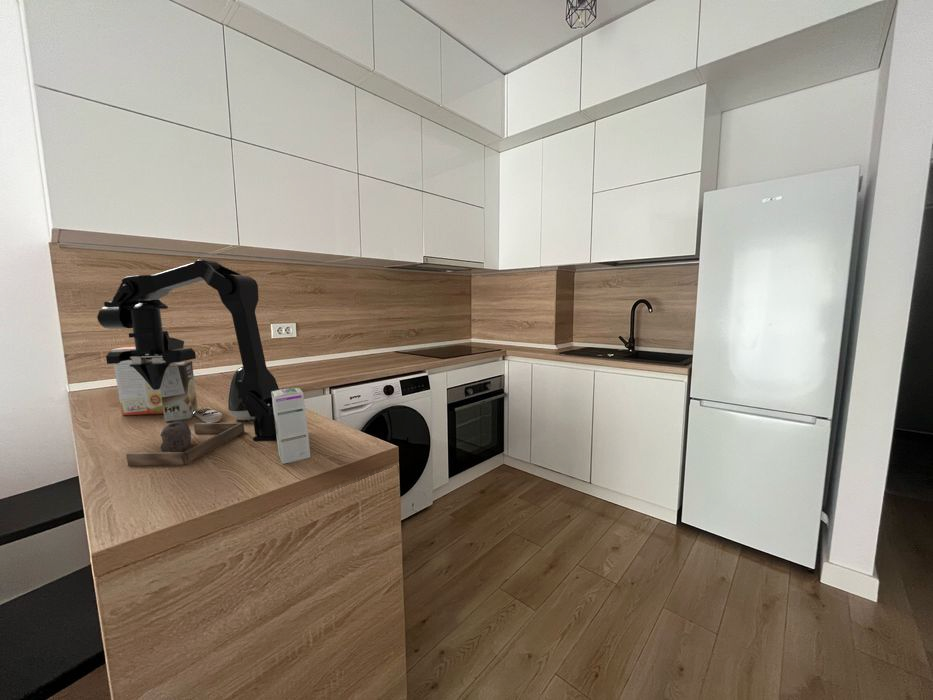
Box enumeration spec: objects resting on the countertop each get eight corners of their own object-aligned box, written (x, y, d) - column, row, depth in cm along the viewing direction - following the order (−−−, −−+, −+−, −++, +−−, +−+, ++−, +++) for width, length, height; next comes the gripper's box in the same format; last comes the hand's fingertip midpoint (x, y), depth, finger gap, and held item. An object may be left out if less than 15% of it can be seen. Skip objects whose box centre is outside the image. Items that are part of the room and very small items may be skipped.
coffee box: (191, 418, 111) (183, 365, 108) (164, 422, 108) (156, 367, 106) (198, 410, 119) (192, 360, 117) (174, 413, 117) (167, 362, 114)
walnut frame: (244, 431, 98) (243, 422, 97) (186, 464, 78) (184, 453, 78) (197, 432, 98) (195, 423, 98) (127, 465, 79) (126, 454, 79)
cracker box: (181, 408, 122) (172, 344, 119) (167, 414, 116) (157, 346, 113) (137, 410, 122) (127, 346, 119) (121, 416, 116) (110, 348, 113)
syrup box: (311, 458, 80) (305, 391, 78) (280, 465, 77) (273, 395, 75) (306, 449, 85) (300, 386, 83) (277, 455, 82) (270, 390, 80)
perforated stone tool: (170, 442, 92) (166, 415, 91) (196, 438, 94) (192, 411, 93) (159, 465, 79) (154, 433, 78) (189, 459, 81) (185, 428, 81)
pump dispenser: (247, 425, 103) (241, 370, 101) (221, 421, 107) (214, 369, 105) (278, 414, 112) (273, 364, 110) (253, 411, 116) (247, 362, 114)
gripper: (207, 324, 101) (214, 381, 103) (140, 326, 102) (149, 383, 104) (174, 328, 90) (182, 391, 92) (99, 330, 91) (109, 393, 93)
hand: (156, 389), depth 96 cm, fingers closed
